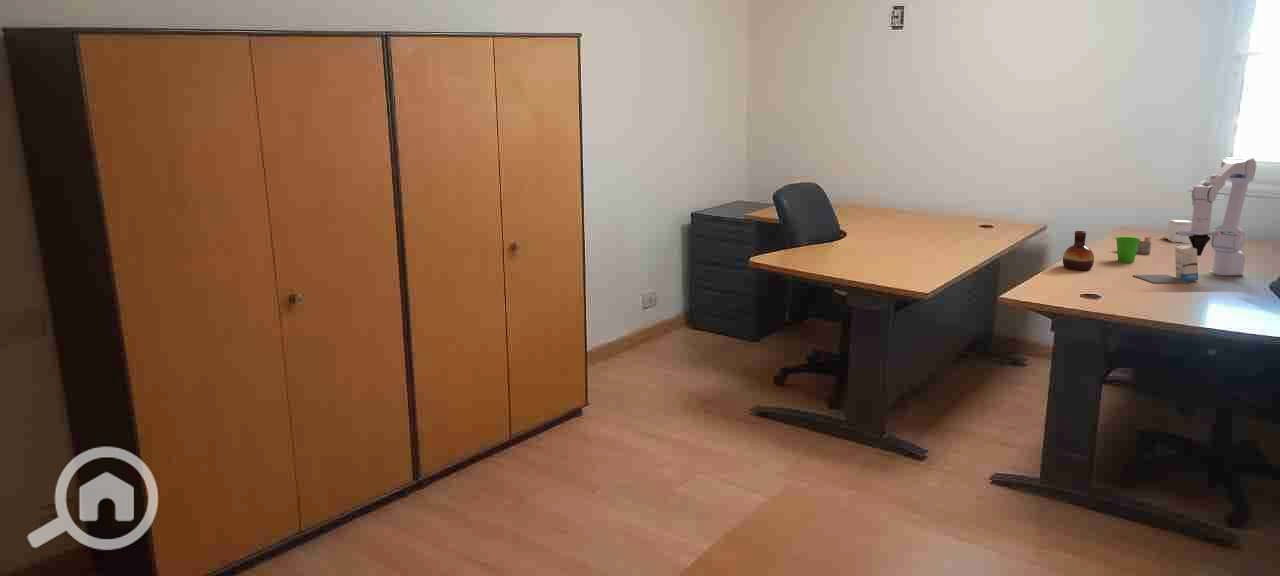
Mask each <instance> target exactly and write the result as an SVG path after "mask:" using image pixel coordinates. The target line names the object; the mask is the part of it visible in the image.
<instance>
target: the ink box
mask: <svg viewBox="0 0 1280 576" xmlns="http://www.w3.org/2000/svg"><path fill="white" fill-rule="evenodd" d="M1174 253H1175V254H1174V255H1175V257H1174V259H1175V277H1176V278H1179V279H1182V280H1185V281H1188V282H1191V281H1198V280H1199V269H1198V268H1199V267H1198V256H1197V249H1196V248H1193V247H1192V246H1190V245H1179V246H1175V247H1174Z"/></svg>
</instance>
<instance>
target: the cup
mask: <svg viewBox="0 0 1280 576" xmlns="http://www.w3.org/2000/svg"><path fill="white" fill-rule="evenodd" d="M1115 239H1116V251H1117V262H1119V263H1124V264H1133V263H1134V262H1135V259H1136V255H1137V253H1136V252H1137V248H1138V245H1139V241H1142V239H1141V238H1140V237H1136V236H1135V237H1134V236H1116V237H1115Z"/></svg>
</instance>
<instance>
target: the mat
mask: <svg viewBox="0 0 1280 576" xmlns="http://www.w3.org/2000/svg"><path fill="white" fill-rule="evenodd" d="M1132 277H1134V278H1137V279H1140V280H1143V281H1144V282H1145V281H1146V282H1148V283H1152V284H1191V281H1185V280H1182V279H1179V278H1177V277H1176V276H1173V275H1169V274H1133V275H1132Z"/></svg>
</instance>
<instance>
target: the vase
mask: <svg viewBox="0 0 1280 576" xmlns="http://www.w3.org/2000/svg"><path fill="white" fill-rule="evenodd" d="M1086 237H1087V231H1084V230H1075V231H1074V242H1073V244H1072V245H1070V246H1068V247H1067V248H1066V250H1065V251H1064V252H1063V255H1062V264H1063V267H1064V269H1067V270H1070V271H1076V272H1088V271H1090V270H1091V269H1092V268H1093V266H1094V263H1095V255H1094V252H1093V251H1092V250H1091V248H1090V247H1088V246H1087V245H1086Z"/></svg>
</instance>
